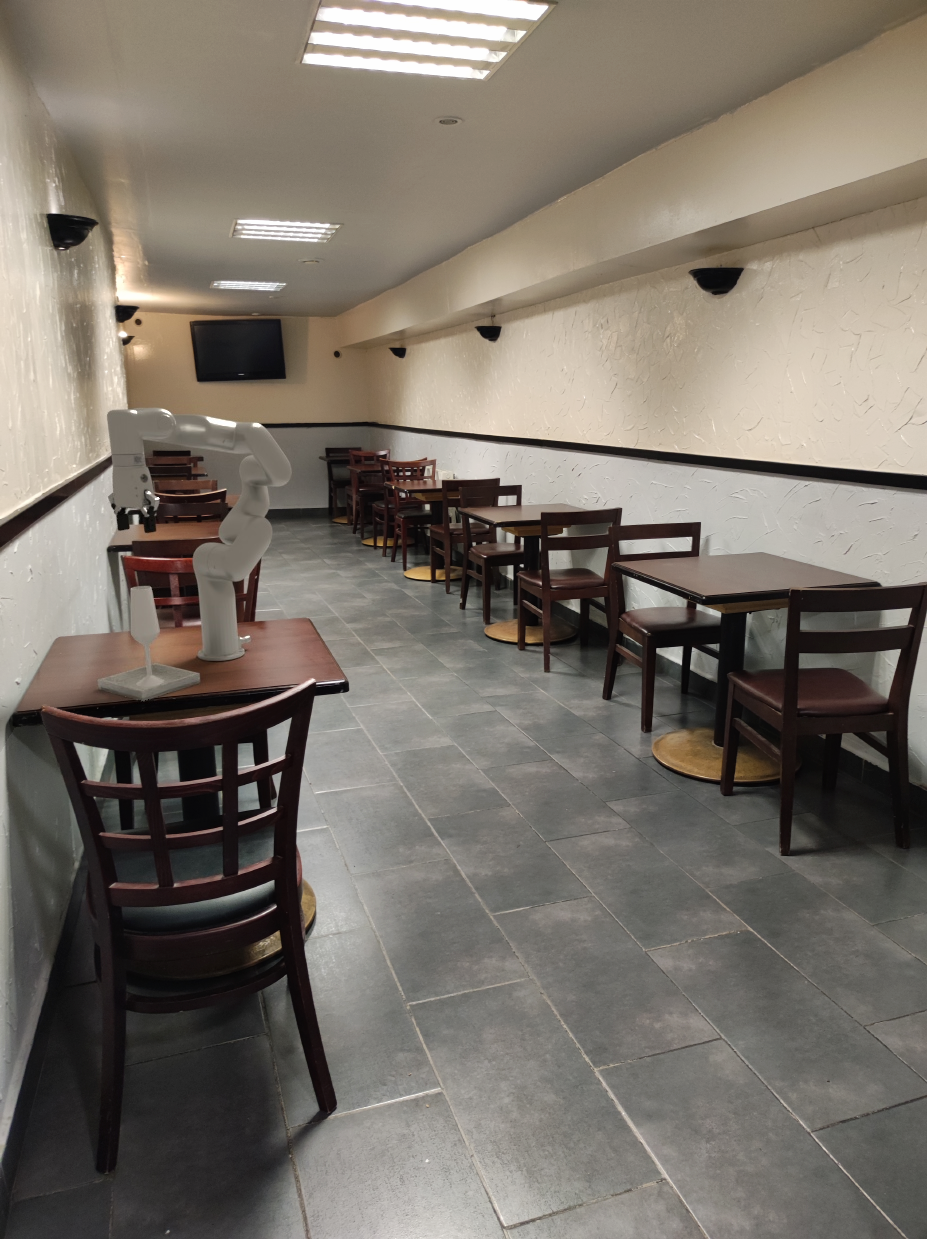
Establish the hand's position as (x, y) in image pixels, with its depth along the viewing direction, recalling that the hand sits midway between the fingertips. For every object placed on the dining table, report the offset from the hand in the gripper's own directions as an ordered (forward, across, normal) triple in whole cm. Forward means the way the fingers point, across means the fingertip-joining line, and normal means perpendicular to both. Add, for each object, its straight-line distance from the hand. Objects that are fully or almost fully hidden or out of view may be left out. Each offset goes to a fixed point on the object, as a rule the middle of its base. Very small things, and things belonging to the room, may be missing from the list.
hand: (137, 531), depth 211 cm
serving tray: (+37, -8, +8) cm, 39 cm away
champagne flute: (+37, -8, +7) cm, 38 cm away
